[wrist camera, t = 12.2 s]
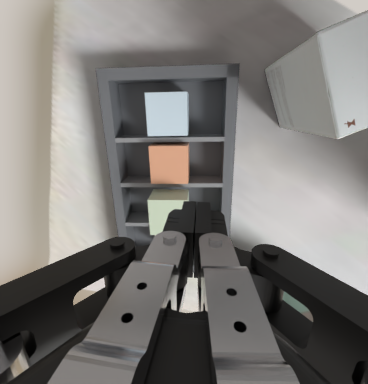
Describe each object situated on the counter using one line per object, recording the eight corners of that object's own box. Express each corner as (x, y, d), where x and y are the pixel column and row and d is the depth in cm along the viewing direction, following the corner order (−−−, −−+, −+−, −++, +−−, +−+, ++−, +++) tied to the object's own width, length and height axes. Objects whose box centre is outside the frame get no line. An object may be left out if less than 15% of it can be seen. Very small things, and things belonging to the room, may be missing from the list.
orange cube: (189, 141, 28) (187, 145, 25) (189, 175, 30) (188, 183, 27) (154, 142, 29) (148, 146, 25) (156, 175, 30) (151, 183, 27)
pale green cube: (188, 189, 28) (187, 200, 25) (189, 221, 30) (187, 235, 26) (153, 189, 28) (147, 199, 25) (155, 220, 30) (150, 235, 26)
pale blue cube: (188, 93, 26) (187, 91, 23) (189, 132, 28) (187, 135, 25) (151, 94, 27) (144, 92, 23) (153, 133, 28) (147, 136, 25)
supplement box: (340, 105, 27) (452, 102, 15) (278, 128, 28) (335, 142, 16) (329, 38, 25) (449, -28, 13) (262, 67, 26) (315, 31, 14)
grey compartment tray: (234, 69, 26) (239, 63, 23) (224, 257, 35) (227, 273, 32) (108, 73, 27) (95, 68, 24) (130, 255, 36) (122, 270, 33)
